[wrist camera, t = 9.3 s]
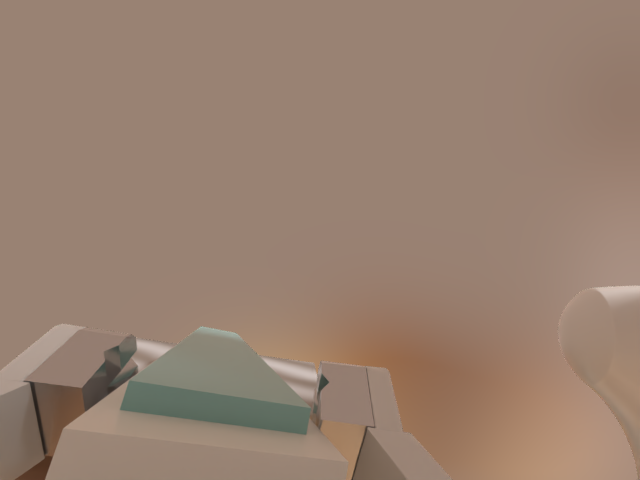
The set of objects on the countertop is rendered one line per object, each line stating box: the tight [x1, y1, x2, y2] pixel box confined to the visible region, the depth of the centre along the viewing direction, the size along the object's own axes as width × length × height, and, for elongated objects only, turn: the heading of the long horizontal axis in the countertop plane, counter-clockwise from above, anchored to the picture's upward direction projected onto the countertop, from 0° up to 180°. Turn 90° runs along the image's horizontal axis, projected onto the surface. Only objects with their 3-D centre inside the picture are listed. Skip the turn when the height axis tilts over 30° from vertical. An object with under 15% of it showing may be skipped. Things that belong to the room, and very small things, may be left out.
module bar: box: [45, 326, 348, 480], centre depth 16 cm, size 26×4×3 cm, turn 16°
